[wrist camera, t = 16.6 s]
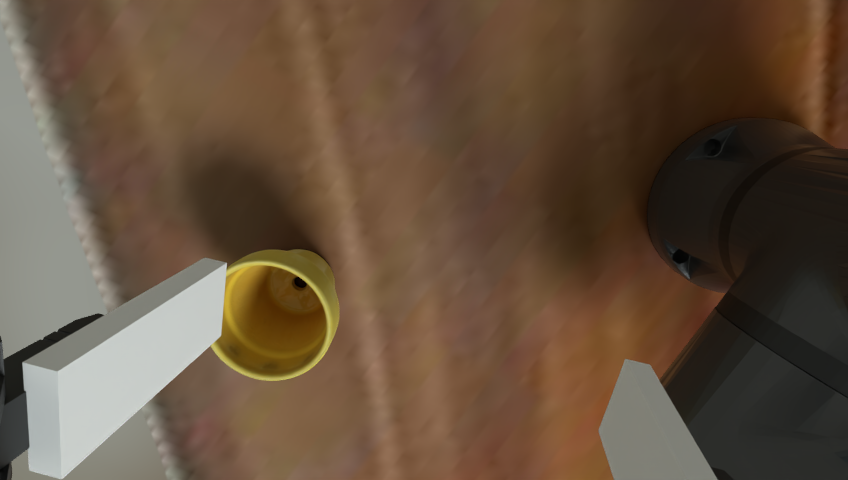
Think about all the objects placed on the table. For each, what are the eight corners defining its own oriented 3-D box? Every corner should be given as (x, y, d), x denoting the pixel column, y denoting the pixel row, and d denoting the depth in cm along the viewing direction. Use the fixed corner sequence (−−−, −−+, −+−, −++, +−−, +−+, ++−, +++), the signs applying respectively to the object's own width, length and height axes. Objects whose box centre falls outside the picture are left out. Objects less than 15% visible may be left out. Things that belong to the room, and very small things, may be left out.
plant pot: (296, 205, 45) (257, 232, 36) (376, 281, 47) (359, 325, 38) (227, 278, 48) (172, 321, 38) (305, 348, 49) (272, 406, 40)
